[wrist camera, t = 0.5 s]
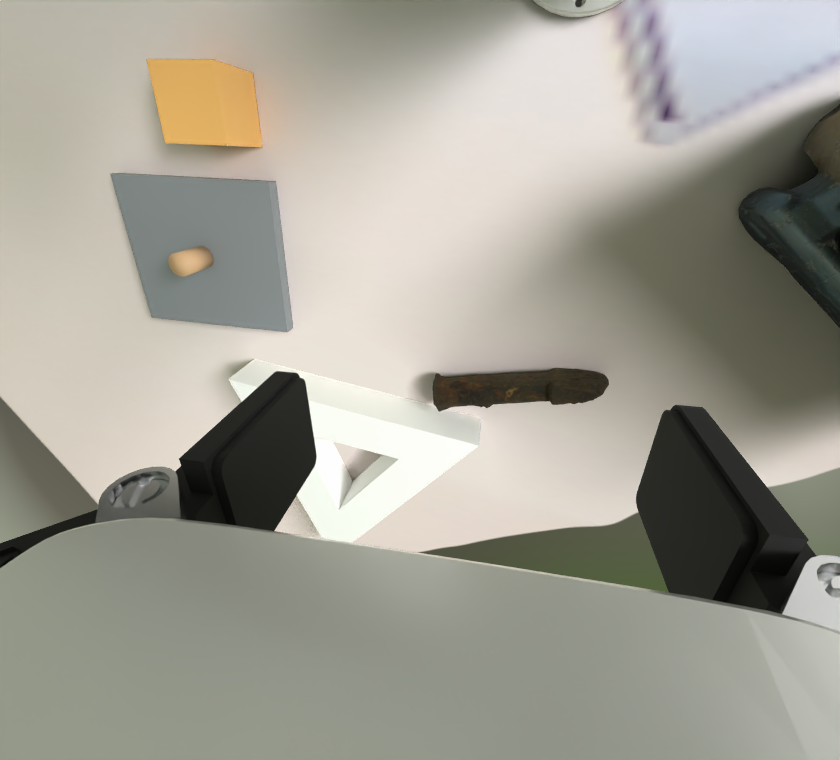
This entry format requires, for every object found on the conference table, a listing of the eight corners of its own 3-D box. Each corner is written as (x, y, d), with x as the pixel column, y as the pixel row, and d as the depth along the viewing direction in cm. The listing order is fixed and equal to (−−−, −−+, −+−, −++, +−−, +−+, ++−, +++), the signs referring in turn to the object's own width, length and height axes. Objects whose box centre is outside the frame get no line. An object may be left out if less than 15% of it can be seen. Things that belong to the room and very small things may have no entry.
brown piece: (438, 398, 51) (432, 419, 47) (434, 369, 49) (428, 388, 45) (602, 394, 47) (611, 417, 43) (604, 363, 45) (614, 383, 41)
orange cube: (194, 72, 39) (146, 58, 34) (253, 72, 38) (212, 59, 33) (207, 145, 42) (165, 143, 37) (262, 147, 41) (226, 145, 36)
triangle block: (481, 415, 52) (478, 445, 46) (439, 549, 64) (433, 586, 59) (256, 356, 54) (228, 379, 48) (259, 498, 66) (236, 528, 61)
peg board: (121, 173, 45) (76, 174, 40) (275, 181, 42) (246, 184, 38) (160, 313, 53) (126, 328, 48) (293, 327, 50) (270, 345, 45)
